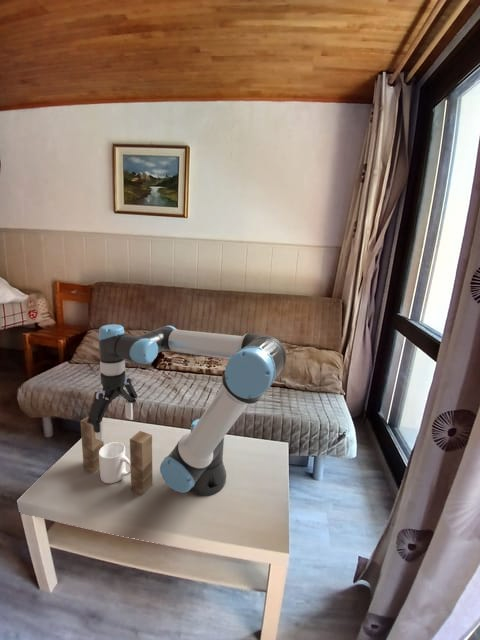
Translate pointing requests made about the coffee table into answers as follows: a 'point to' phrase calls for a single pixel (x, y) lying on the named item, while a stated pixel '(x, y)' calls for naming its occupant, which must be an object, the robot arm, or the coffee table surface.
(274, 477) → the coffee table surface
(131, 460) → the post near
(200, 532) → the coffee table surface
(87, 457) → the post far
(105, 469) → the mug
